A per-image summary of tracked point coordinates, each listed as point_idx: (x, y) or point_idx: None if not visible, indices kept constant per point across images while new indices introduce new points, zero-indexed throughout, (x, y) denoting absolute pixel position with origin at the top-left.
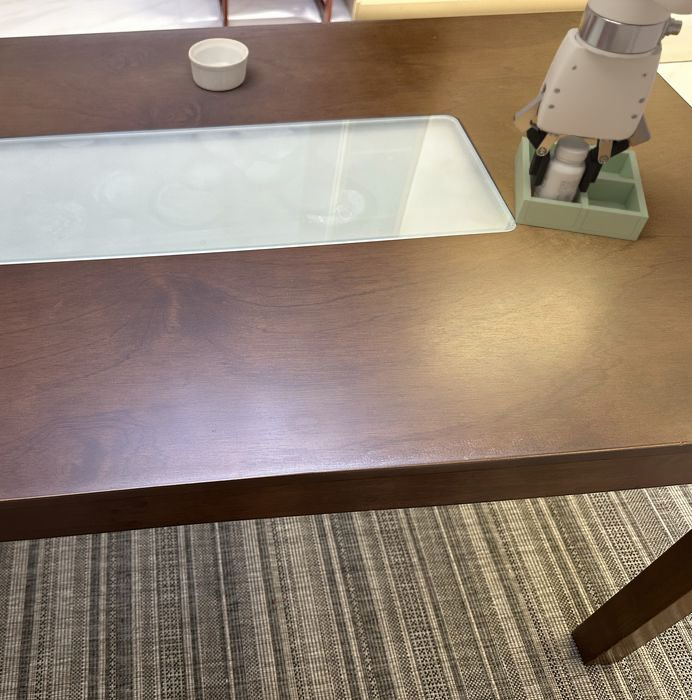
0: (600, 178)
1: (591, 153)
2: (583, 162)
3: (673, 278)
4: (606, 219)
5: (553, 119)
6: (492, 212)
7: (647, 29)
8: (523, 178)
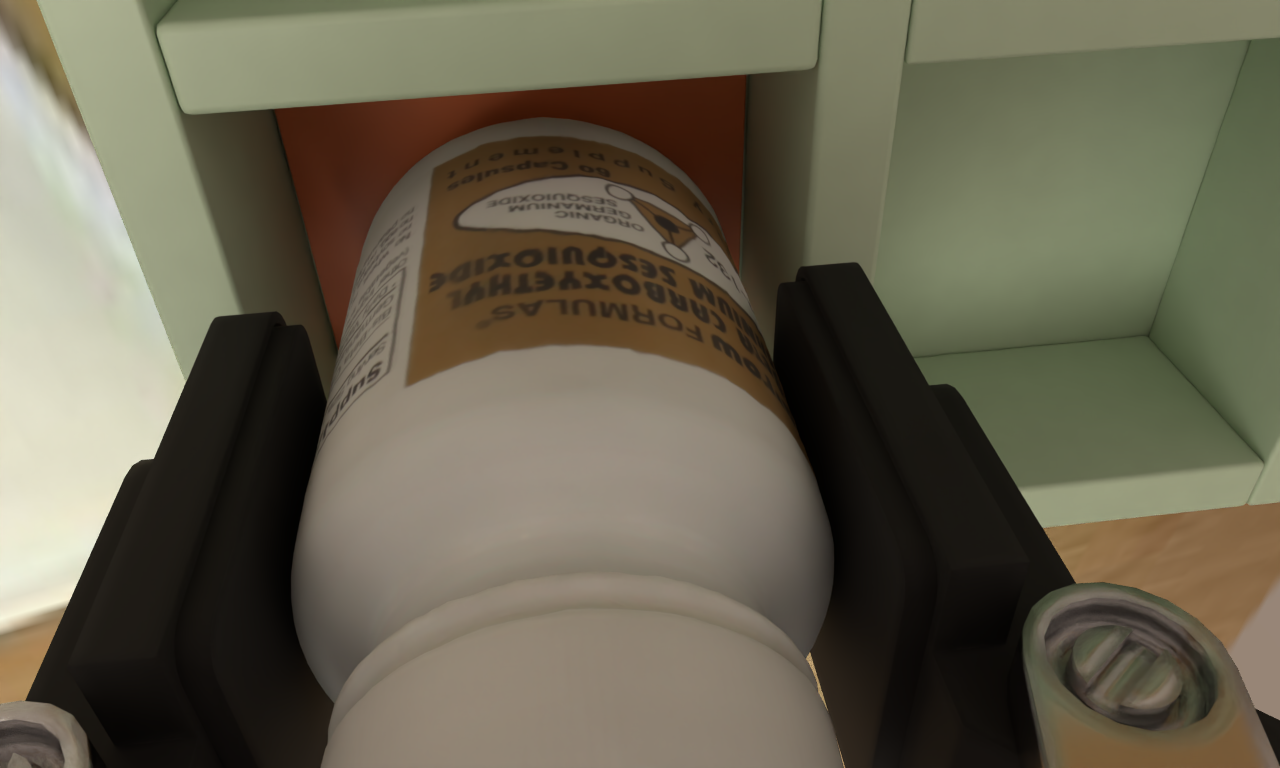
0: (1088, 50)
1: (924, 644)
2: (796, 635)
3: (1238, 563)
4: None
5: None
6: (97, 365)
7: None
8: (163, 324)
